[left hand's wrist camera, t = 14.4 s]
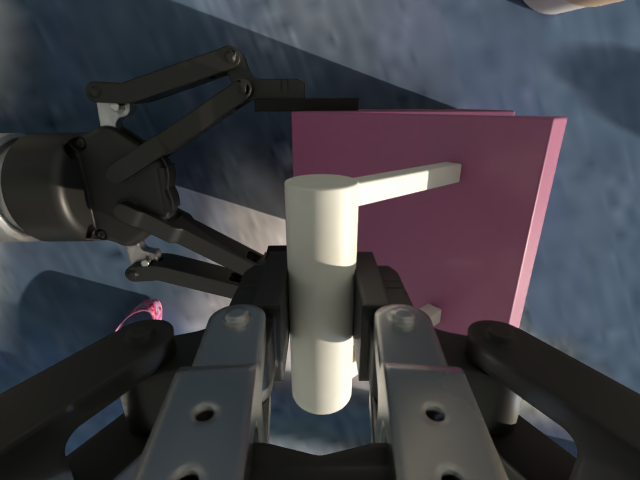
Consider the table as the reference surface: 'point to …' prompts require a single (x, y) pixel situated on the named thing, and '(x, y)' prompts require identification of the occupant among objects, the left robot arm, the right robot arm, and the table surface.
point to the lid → (409, 225)
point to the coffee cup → (564, 5)
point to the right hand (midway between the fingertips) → (353, 185)
